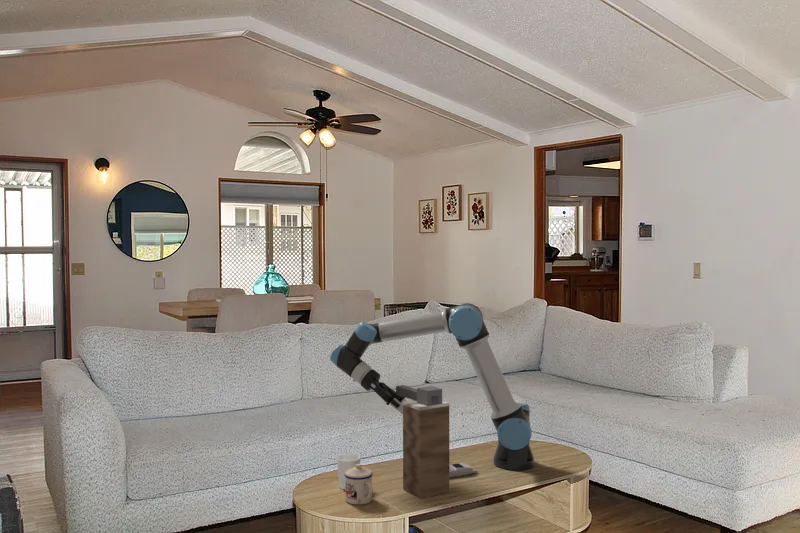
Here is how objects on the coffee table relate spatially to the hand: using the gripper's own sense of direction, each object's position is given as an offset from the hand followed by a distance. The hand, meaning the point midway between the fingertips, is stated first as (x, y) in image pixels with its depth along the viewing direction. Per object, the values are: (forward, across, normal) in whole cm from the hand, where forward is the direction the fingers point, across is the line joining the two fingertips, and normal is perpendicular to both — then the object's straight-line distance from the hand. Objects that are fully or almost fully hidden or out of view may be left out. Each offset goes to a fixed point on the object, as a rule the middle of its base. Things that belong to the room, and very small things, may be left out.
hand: (411, 412), depth 247 cm
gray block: (+1, +10, +6) cm, 12 cm away
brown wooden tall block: (+21, +7, -16) cm, 27 cm away
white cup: (-1, +9, -32) cm, 33 cm away
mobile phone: (+21, -9, -12) cm, 26 cm away
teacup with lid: (+8, +21, -30) cm, 37 cm away
